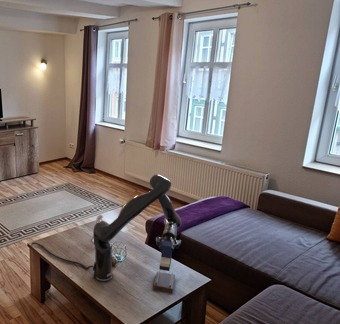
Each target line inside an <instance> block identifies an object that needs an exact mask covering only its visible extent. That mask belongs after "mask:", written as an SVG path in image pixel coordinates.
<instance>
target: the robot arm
mask: <svg viewBox="0 0 340 324" xmlns="http://www.w3.org/2000/svg"><path fill="white" fill-rule="evenodd" d="M149 187H150V188H151V189H150V190H149V191H148V192H144V193H142V194H139V195H135V196H133V197H132V198H130V199H129V200H128V201H126V203H124V204H123V205H122V207H121V209H120V211H119V214H118V215H117V217H116V218H115V220H113V221H112V222H110V223H108V222H106V221H105V220H103V221H99V222H97V223H96V222H95V225H94V226H93V239H94V243H93V245H94V251H95V252H94V256H95V257H94V258H95V260H94V263H93V265H89V266H88V267H86V266H85V265H84V264H82V263H81V262H78V261H75V260H69V259H65V258H62V257H60V256H58V255H56V254H54V253H52V252H51V251H49V250H48V249H47V248H46V247H45V246H44V245H42V244H40V243H38V242H36V241H35V242H32V243H31V245H37V246H39V247H41V248H42V249H44V250H45V251H46V252H47V253H48V254H50V255H51V256H53V257H55V258H57V259H59V260H62V261H64V262H68V263H73V264H77V265H79V266H81V267H82V268H84V269H85V270H89V269H90V268H92V271H93V278H94V279H96V280H97V281H99V282H108V281H110V280H111V279H112V278H113V272H112V271H113V245H112V243H111V241H112V240H113V239H114V238H115V237H116V236H117V235H118V234H119V233H120V232H121V231H122V230H124V228H125V227H126V226H127V225H128V224H129V223H130V222H132V221H133V220H134V219H135V218H136V217H138V216H139V215H140V214H141V213H142V212H143V211H144V210H146V209H147V208H148V207H149V206H150V205H152V204H153V203H155V201H158V203H159V205H160V207H161V211H162V213H163V216H164V218H163V225H164V228H163V229H164V230H163V232H162V236H161V237H159V236H156V237H155V242H156V243H155V244H156V246H157V247H159V250H160V251H162V243H163V241H169V242H172V247H171V252H172V253H173V252H175V249H177V250H178V249H179V248H180V246H181V245H182V240H181V239H178V240H177V235H178V228H180V227H181V226H182V222H183V221H182V219H181V216H180V215H179V214H178V213H177V212H176V210H175V207H174V205H173V202H172V200H171V198H170V197H169V196H168V195H167V193H168V192H169V191H170V189H171V188H172V182H171V180H170V179H168V178H166V177H164V176H163V175H160V174H154V175H152V176H151V177H150V179H149Z"/></svg>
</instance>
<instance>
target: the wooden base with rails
mask: <svg viewBox="0 0 340 324" xmlns="http://www.w3.org/2000/svg"><path fill="white" fill-rule="evenodd" d="M175 279H176V274H174V273H172V272H171V273H167V272H161V270H158V271H156V273H155V277H154V282H153V289H152V290H153V291H156V292H161V293H162V292H163V293H165V294H173V293H174V285H175Z"/></svg>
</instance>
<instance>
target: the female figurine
mask: <svg viewBox="0 0 340 324" xmlns="http://www.w3.org/2000/svg"><path fill="white" fill-rule="evenodd" d="M99 221H104V215H103V214H101V213H99V214H98V216H97V217H96V219H95V224H96V223H97V222H99ZM88 228H92V229H93V226H89V225H88ZM91 241H92V243H93V244H94V238H92V239H91Z"/></svg>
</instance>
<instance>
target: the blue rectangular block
mask: <svg viewBox="0 0 340 324" xmlns="http://www.w3.org/2000/svg"><path fill="white" fill-rule="evenodd" d="M171 247H172V242H169V241H163V243H162V250H161V255H160V262H159V269H158V270H159V271H166V272H170V268H171V264H172V254H173V251H172V252H171Z"/></svg>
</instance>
